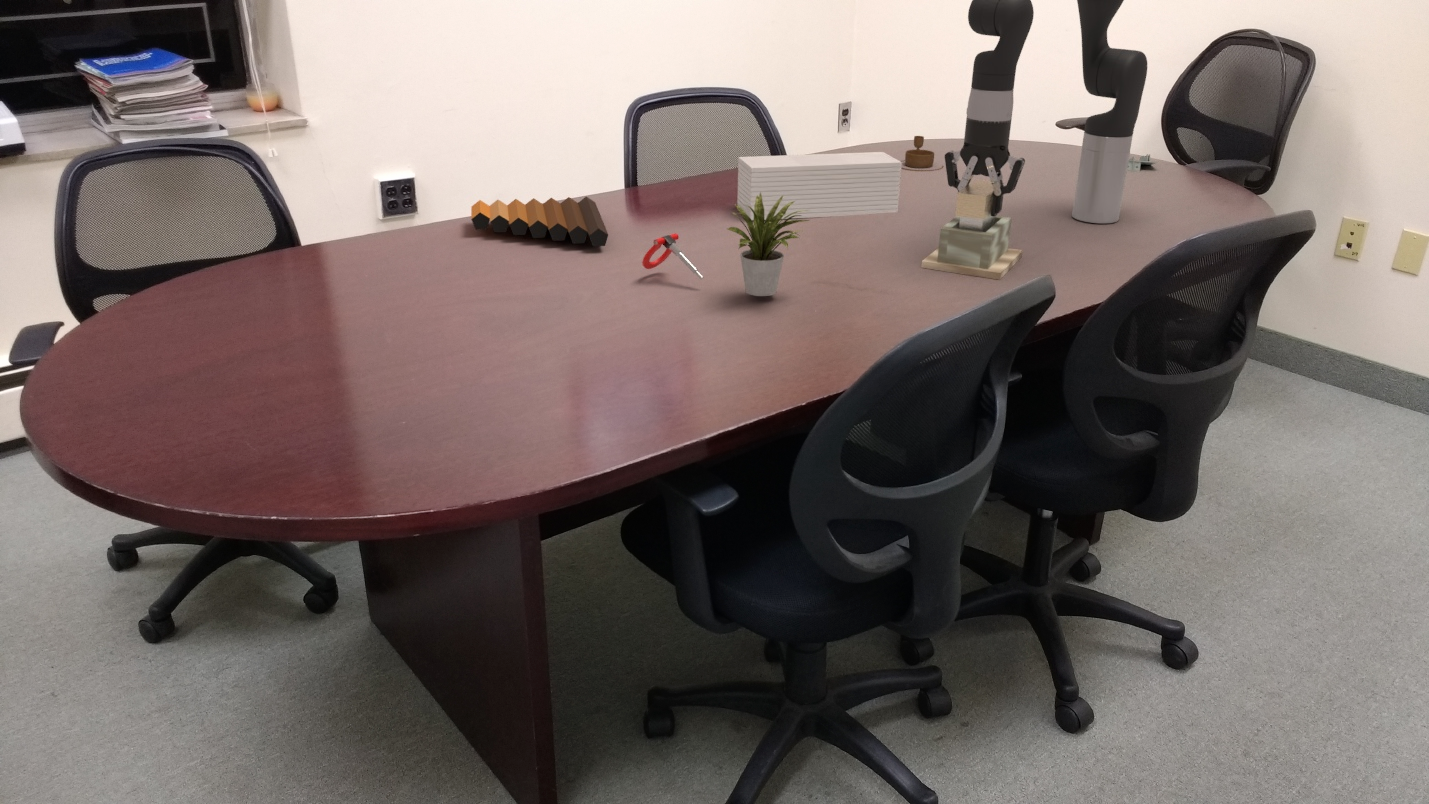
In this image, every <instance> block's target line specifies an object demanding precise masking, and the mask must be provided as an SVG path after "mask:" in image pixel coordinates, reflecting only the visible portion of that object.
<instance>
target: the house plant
mask: <svg viewBox="0 0 1429 804" xmlns="http://www.w3.org/2000/svg"><path fill="white" fill-rule="evenodd" d="M782 198H783V196H782V197H781V198H780V199H779V200H778V201H777V202H776V204H775V205H774V206H773V208H772V209H771V210H770V212H769V214H768V216H767V218H766V220H764V206H763V202H762V196H761V193H760V195H759V197H758V196H757V197H756V200H755V210H753V209H752V208H751V207H750V206H748V207H749V208H750V209H751V210H752V212H753V214H754V220H751V219H750V217H749V216H748V215H747V214H746V213H745V211H744V210H743V209H742V208H741V207H739V206H738V205H737V204H736V203H734V206H735V207H736V209H737V211H738V214H739V215H741V216H742V218H743V219H744V221H745V223H746V224H745V223H744V222H743V221H742V219H741V218H740V217H739V216H738V215H737V213H736V212H733V211H731V213H732V215H734V216H735V217H736V218H737V219H738V220H739V221H740V223H742V225H743V226H744V227H745V229H746V230H747V232H748V234H749V236H748V235H747V234H746V232H744V230H742V229H740V228H739V227H736V226H735V227H734V226H731V227H728V228H727V230H728V231H731V232H733V233H736V234H738V235H739V236H740V237H741V236H742V238H739V244H738V246H739V247H738V249H741V248H742V247H746V246H747V247H749V249H747V250H744V251H741V253H740V262H741V268H742V273H743V282H744V289H745V293H747V294H748V295H749V296H750V295H751V296H755V297H767V296H769V297H770V296H772V295H776V293H777V290H778V286H779V281H780V276H781V272H782V271H781V270H782V267H783V261H784V254H783V253H782V252H781V251H778V250H776V249H777V248H778V247H779V246H780V245H781V244H782V245H783V246H785V247H786V248H787V250H789V243H788V241H787V240H789V239H790V240H791V239H800V240H801V237H798V236H800V234H799V232H802V233H803V232H804V230H796V231H792V230H784V231H783V230H782V231H780V230H781V229H782V228H784V227H788V226H790V225H793V224H797V223H801V222H803V223H804V222H808V221H810V219H795V220H790V219H794V218H793V217H795V216H801V215H794V216H791V217H789V218H788V219H785V218H787V217H788V216H790V215H792V214H795V213H797V212H801V211H808V210H801V211H796V212H793V213H791V214H789V215H787V216H786V217H785V218H783V219H781V218H782V217H783V216H784V214H785V213H786V211H787V209H788V207H789V206H790V205H792V204H793V203H794V202H795V201H793V202H791V203H788V204H787V205H785V206H784V207H783V208H782V209H781V210H780V211H779V212H778V213H777V215H775V216H774V214H775V212H776V210H777V208H778V206H779V204H780V202H781V200H782ZM745 206H747V205H745ZM783 220H784V221H783ZM746 225H747V226H746ZM779 231H780V232H779ZM785 234H788V235H785ZM794 234H795V235H794ZM783 235H785V236H783ZM797 235H798V236H797Z"/></svg>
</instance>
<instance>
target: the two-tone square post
mask: <svg viewBox="0 0 1429 804" xmlns="http://www.w3.org/2000/svg"><path fill="white" fill-rule="evenodd" d="M1003 184H1004V185H1005V182H1004V181H1003ZM994 195H995V194H994V190H993V186H992V183H991V181H990V180H987V179H985V180H984V179H978V178H977V179H974V180H973V181H972V182H970V183H969V185H968V186H966V187H965V188H964V189H962V190H961V191H959V192H958V191H957V195H956V206H955V214H954V215H955V217H956V216H960V223H959V229H964V230H972V231H979V232H986V231H988V230H989V229H990V228H991V227H992V226H993V225H994V223H995V216H991V210H992V202H993V196H994Z"/></svg>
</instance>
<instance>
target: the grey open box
mask: <svg viewBox="0 0 1429 804" xmlns="http://www.w3.org/2000/svg"><path fill="white" fill-rule="evenodd" d="M1012 221H1013V218H1012V217H1011V216H1009V217H1008V216H1002V215H996V216H995V223H994V225H993V226H992V227H991V228H990V229H989V230H988V231H986V232H979V231H972V230H964V229H959V223H960V216H955V217H953V218H952V219H951V220H950V221H948V222H947V223H946V224H944V225H943V226H942V227H940V230H939V241H938V247H937V248H936V249H935V250H933V251H932V252H931V253H930V254H928V255H927V256H926V257H925V258H924V259H922V261H921V266H920V267H921V268H922V269H928V270H935V271H940V272H946V273H947V272H948V273H953V274H961V275H966V276H973V277H974V276H975V277H980V278H987V279H990V280H992V279H993V280H1000V281H1001V279H1003V277H1004V276H1005V275H1006V274H1007V273H1008V272H1009V271H1010V270H1011V269H1012V268H1013V266H1015V264H1017V262H1019V260H1020V259H1021V258H1022V257H1023V249H1017V248H1009V243H1010V235H1011V229H1012V228H1011V227H1012Z"/></svg>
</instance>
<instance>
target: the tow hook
mask: <svg viewBox="0 0 1429 804" xmlns="http://www.w3.org/2000/svg"><path fill="white" fill-rule="evenodd" d="M679 238H680V237H679V234H678V233H671V234H668V235H665V236H661V237H660V238H655V239H654V240H653V245H652V246H651V248H650V249H648V251H647V252H646V253H645V254H644V257H643V258H642V259H643V260H642V262H641V265H642V266H643V267H644V269H647V270H652V269H655V268H656V267H657V266H660V265H661V264H662V263H664V262H665V261H666V260H667V259H668V258H669V256H670V255H671V254H672V253H673V254H674V255H675V257H678V258H679V259H680V260H681V261H682V262H683V264H684V265H685V266H686V267H687V268H688V269H689V270H690V271H691V273H693V274H695V275H696V276H697V278H698V279H700V280H703V279H704V276H703V275H702V273H700V272H699V269H698V268H697V267H696V266H695V264H693V263H692V261H690V260H689V258H688V257H686V255H685V254H684V253H683V252H682V249H681V248H680V247H679V246H678V245H677V241H678V240H679ZM662 245H663V247H665V251H664V252H663V254H661V256H660V257H658V258H657V259H655V260H653V261H651V258H652V257H653V255H654V254H655V253H656V252H657V251H658V250H659V249H660V248H661V247H662Z"/></svg>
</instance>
